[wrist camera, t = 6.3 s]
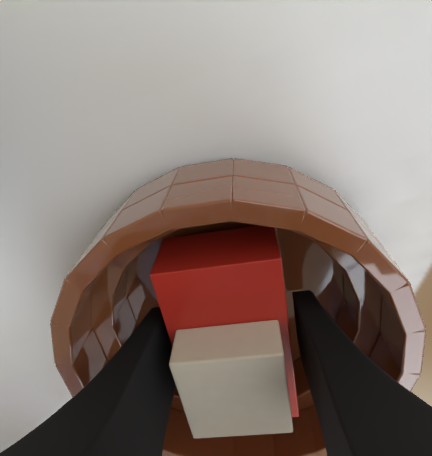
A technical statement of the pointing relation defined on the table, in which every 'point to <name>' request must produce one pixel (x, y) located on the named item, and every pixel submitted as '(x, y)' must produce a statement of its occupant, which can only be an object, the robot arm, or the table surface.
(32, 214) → the table surface
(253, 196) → the bowl
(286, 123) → the table surface
